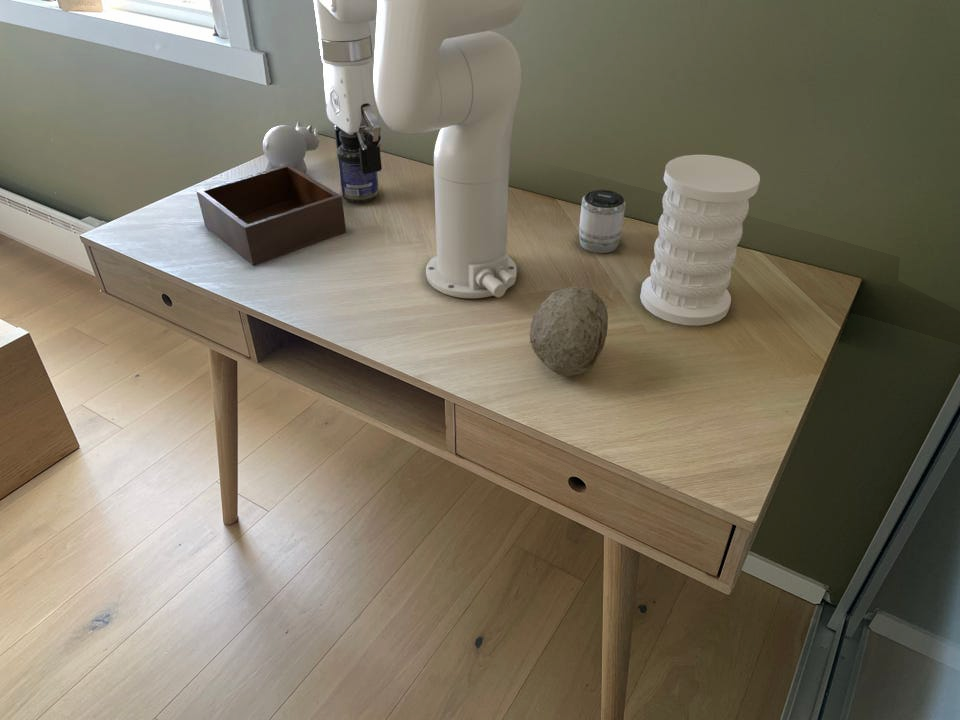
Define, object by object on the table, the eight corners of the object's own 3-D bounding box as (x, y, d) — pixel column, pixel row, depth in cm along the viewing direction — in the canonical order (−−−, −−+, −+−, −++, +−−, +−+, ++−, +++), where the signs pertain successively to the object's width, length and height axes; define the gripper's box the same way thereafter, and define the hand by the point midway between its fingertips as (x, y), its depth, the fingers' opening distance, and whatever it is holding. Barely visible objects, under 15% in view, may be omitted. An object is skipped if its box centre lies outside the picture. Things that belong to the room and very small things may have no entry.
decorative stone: (548, 333, 89) (553, 263, 83) (613, 352, 86) (624, 281, 80) (513, 379, 82) (517, 306, 76) (583, 401, 79) (592, 328, 73)
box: (346, 232, 110) (342, 195, 106) (253, 266, 102) (244, 228, 98) (294, 198, 119) (289, 163, 115) (205, 227, 111) (196, 190, 107)
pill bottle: (386, 198, 119) (381, 133, 112) (354, 208, 116) (347, 142, 109) (366, 186, 123) (360, 122, 116) (335, 195, 120) (327, 130, 113)
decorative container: (641, 321, 91) (664, 189, 80) (638, 274, 100) (659, 150, 89) (734, 329, 90) (771, 196, 79) (723, 281, 99) (755, 156, 88)
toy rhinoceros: (336, 163, 131) (330, 116, 125) (289, 186, 123) (281, 137, 117) (306, 154, 134) (300, 108, 128) (259, 176, 126) (250, 128, 120)
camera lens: (583, 231, 111) (588, 183, 106) (623, 238, 109) (630, 190, 104) (572, 250, 106) (577, 200, 101) (614, 257, 104) (622, 208, 99)
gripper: (301, 41, 109) (317, 150, 120) (345, 66, 98) (359, 185, 108) (347, 34, 113) (359, 141, 123) (395, 58, 101) (404, 174, 111)
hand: (359, 162), depth 115 cm, fingers open, 9 cm apart
